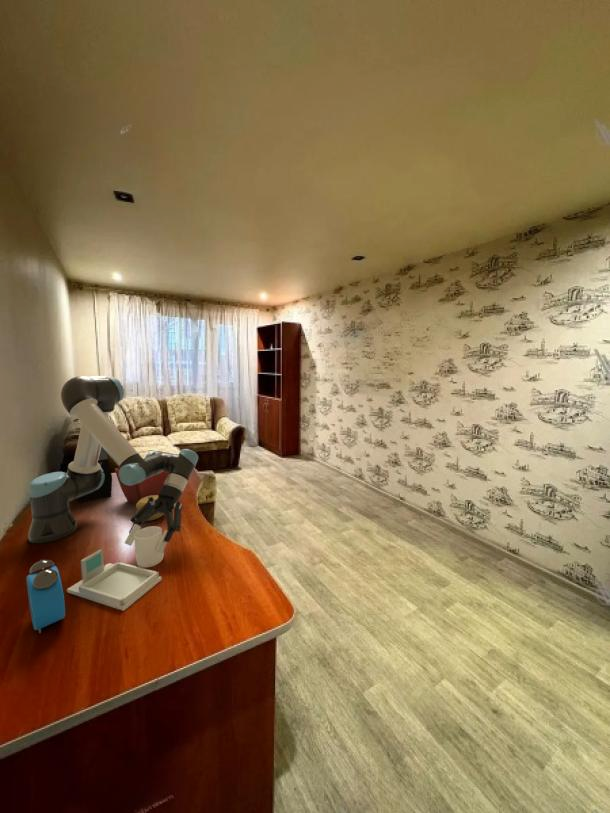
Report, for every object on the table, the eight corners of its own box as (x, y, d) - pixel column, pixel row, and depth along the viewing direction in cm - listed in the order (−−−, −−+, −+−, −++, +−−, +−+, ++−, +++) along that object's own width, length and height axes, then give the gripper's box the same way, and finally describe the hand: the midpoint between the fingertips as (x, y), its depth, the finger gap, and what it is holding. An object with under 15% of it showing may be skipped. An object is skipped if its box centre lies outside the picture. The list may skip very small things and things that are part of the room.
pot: (133, 517, 139) (132, 495, 137) (161, 509, 146) (160, 488, 145) (140, 527, 130) (139, 503, 129) (170, 518, 137) (168, 496, 136)
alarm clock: (30, 614, 83) (23, 560, 82) (59, 601, 88) (54, 551, 86) (36, 643, 74) (29, 584, 73) (68, 627, 79) (62, 571, 77)
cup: (142, 571, 101) (140, 541, 99) (128, 557, 109) (126, 529, 107) (168, 559, 107) (166, 531, 106) (153, 547, 115) (151, 520, 114)
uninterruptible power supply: (109, 479, 190) (106, 446, 187) (114, 497, 162) (110, 459, 160) (76, 485, 180) (72, 451, 178) (74, 505, 153) (70, 465, 150)
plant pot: (175, 496, 161) (173, 464, 159) (138, 510, 145) (135, 475, 143) (153, 489, 172) (151, 459, 170) (116, 502, 156) (113, 468, 154)
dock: (67, 592, 92) (64, 566, 91) (109, 565, 104) (107, 542, 103) (123, 610, 84) (121, 582, 83) (161, 579, 96) (159, 555, 95)
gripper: (205, 496, 116) (179, 557, 104) (153, 489, 125) (122, 544, 112) (195, 487, 111) (166, 551, 98) (140, 480, 119) (107, 538, 107)
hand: (142, 548), depth 105 cm, fingers open, 13 cm apart
